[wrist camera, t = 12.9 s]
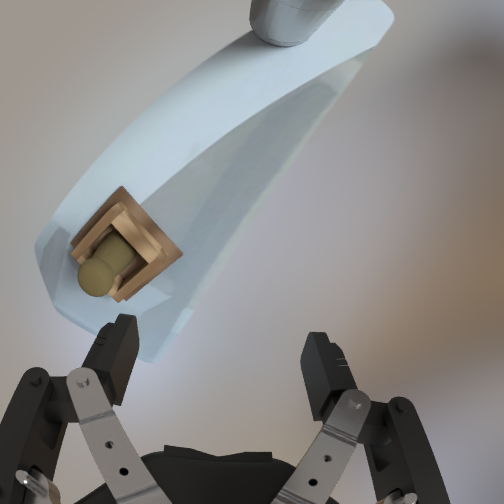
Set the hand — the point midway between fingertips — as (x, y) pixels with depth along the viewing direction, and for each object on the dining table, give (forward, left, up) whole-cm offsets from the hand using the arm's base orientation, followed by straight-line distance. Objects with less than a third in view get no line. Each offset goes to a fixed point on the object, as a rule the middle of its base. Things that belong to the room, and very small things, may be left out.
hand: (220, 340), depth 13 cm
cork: (+9, -18, -30) cm, 35 cm away
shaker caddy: (+9, -17, -30) cm, 36 cm away
